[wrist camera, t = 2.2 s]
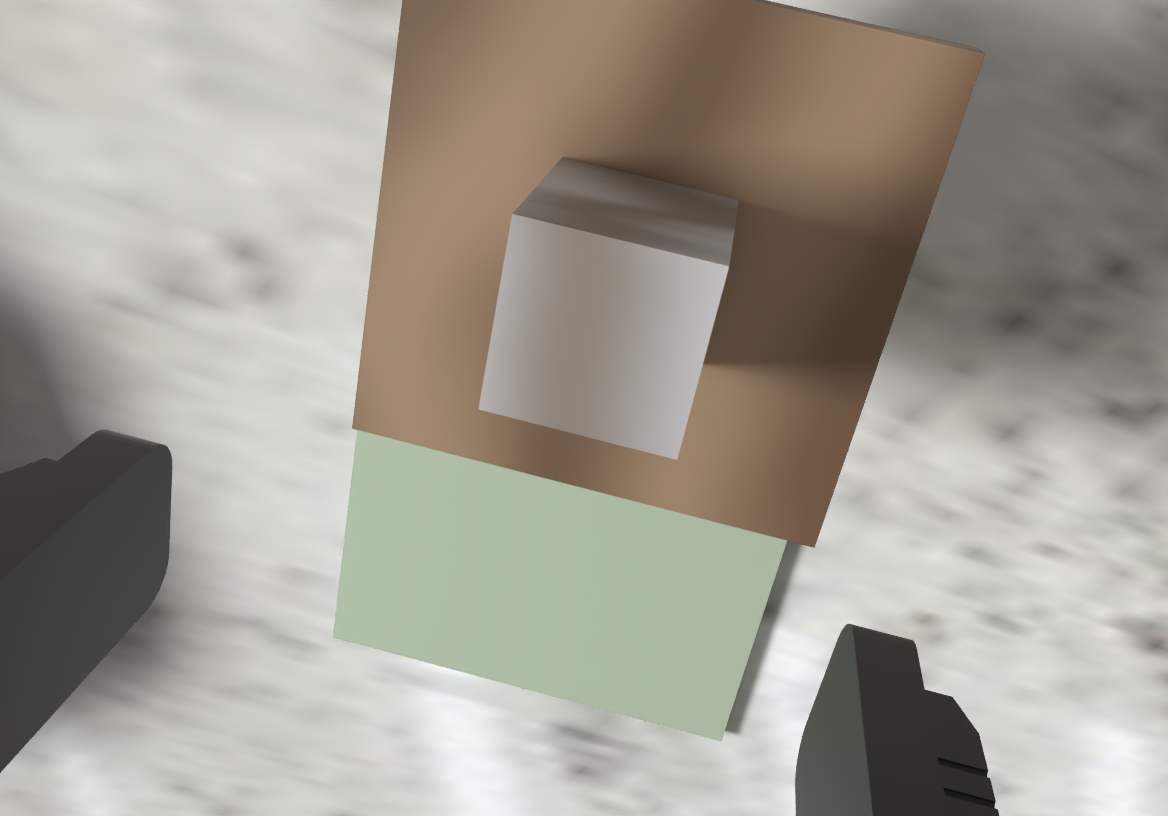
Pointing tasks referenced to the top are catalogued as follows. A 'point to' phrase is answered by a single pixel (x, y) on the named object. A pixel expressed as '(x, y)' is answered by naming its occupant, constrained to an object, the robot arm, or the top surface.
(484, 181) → the lid
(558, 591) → the mat
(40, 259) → the top surface
